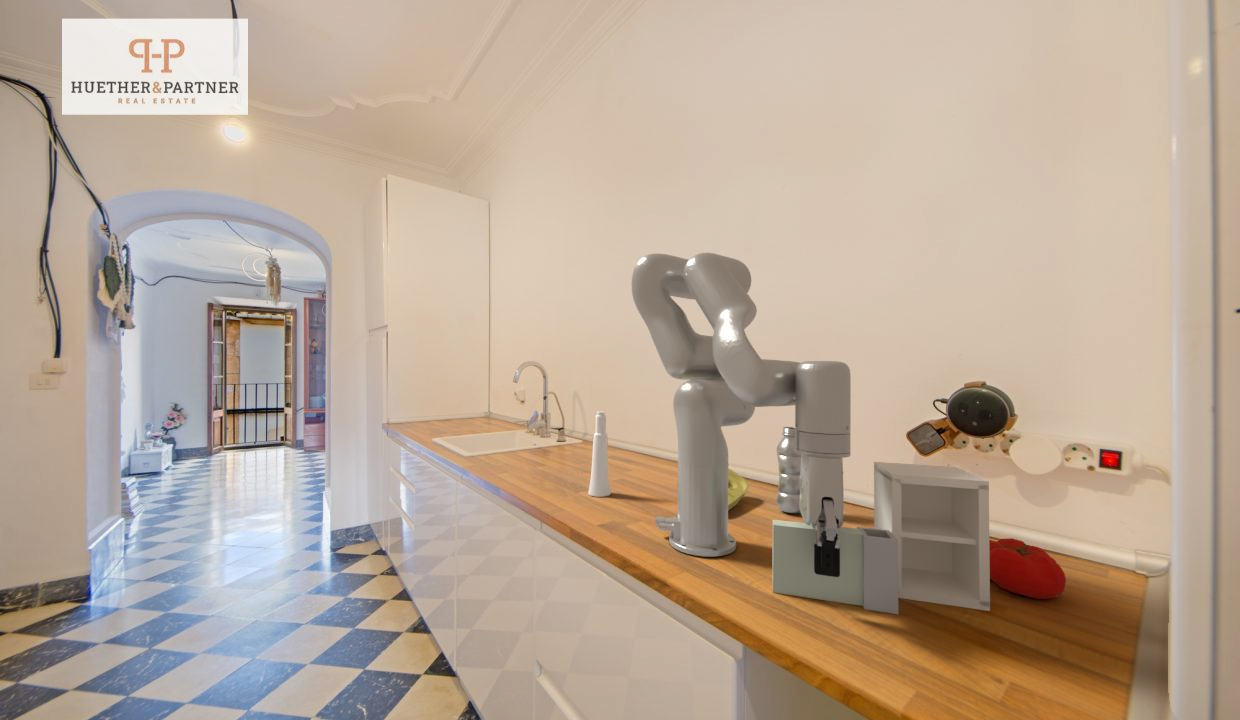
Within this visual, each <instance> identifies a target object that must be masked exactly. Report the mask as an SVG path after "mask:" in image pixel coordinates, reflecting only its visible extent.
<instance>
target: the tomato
mask: <svg viewBox="0 0 1240 720" xmlns="http://www.w3.org/2000/svg"><path fill="white" fill-rule="evenodd" d="M989 556H990V580H991V581H993V583H995V584H996V585H998V586H999V587H1001V588H1002V589H1003V590H1005V591H1008V592H1011V593H1013V594H1017V595H1020V596H1024V597H1028V598H1032V599H1037V600H1048V599H1049V600H1050V599H1053V598H1055V597H1058V596H1060V595H1061V594H1062V593H1063V592H1064V591H1065V588H1066V583H1067V579H1066V575H1065V572H1064V570H1063V568H1062V567H1061V566H1060V564H1058V563H1057V561H1056V560H1055V559H1054V558H1053V557H1051V556H1050V554H1048V553H1047V552H1046V551H1045V550H1044V549H1042V548H1040V547H1039V546H1036V545H1030V544H1026V543H1025V542H1024V541H1022V540H1020V539H1015V538H1014V537H1013V538H1001V539H999V540H997V541H996V540H992V539H989Z"/></svg>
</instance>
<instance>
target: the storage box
mask: <svg viewBox="0 0 1240 720" xmlns="http://www.w3.org/2000/svg"><path fill="white" fill-rule="evenodd" d="M822 531H825V529H821V533H822ZM838 537H839V547H840V576H839V577H832V576H825V575H818V574H816V573H815V572H814V544H817V543H816V530H815V524H810V525H807V524H806V523H805V522H798V521H789V520H788V521H787V520H782V519H781V520H780V519H772V546H771V547H772V552H771V553H772V554H771V555H772V558H771V559H772V561H771V562H772V567H771V568H772V569H771V574H772V576H771V577H772V578H771V585H772V593H775V594H782V595H786V596H787V595H789V596H794V597H801V598H809V599H815V600H821V601H827V602H833V603H834V602H835V603H841V604H848V605H854V606H861V607H863V610H867V611H874V612H881V613H889V614H893V615H899V598H898V540H897V539H896V538H895V536H894V535H893V534H892V533H891V532H890V531H889V530H882V529H874V528H871V527H863V526H862V527H861V526H857V527H856V528H855V527H854V528H853V527H844V526H841V527H840V528H838Z"/></svg>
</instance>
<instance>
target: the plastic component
mask: <svg viewBox="0 0 1240 720" xmlns="http://www.w3.org/2000/svg"><path fill="white" fill-rule="evenodd" d="M749 488H750V485H749V482H748V481H747V480H746V479H745V478H744V477H742V476H741V475H740V474H739V473H737V472H735V471H734V470H733V469H731V468H729V467H728V512H729V511H730V510H731V509H733V508H734V507H736V505H738V504H739V502H740V500H741V499H742V498H744V497H745V495H746V494H747V492H748V490H749Z"/></svg>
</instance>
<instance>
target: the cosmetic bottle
mask: <svg viewBox="0 0 1240 720" xmlns="http://www.w3.org/2000/svg"><path fill="white" fill-rule="evenodd" d="M606 430H607V416H606V412H605V411H602V410H601V411H597V412H596V414H595V431H594V432H595V433H593V441H592V458H591V470H590V472H591V473H590V480H589V486H588V492H587V493H588V495H589V496H590V497H595V498H603V497H604V498H605V497H609V496H610V495H611V494H612V492H611V485H610V477H609V475H610V474H609V472H610V471H609V448H608V447H609V446H608V443H609V442H608V433H606V432H607V431H606Z"/></svg>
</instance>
